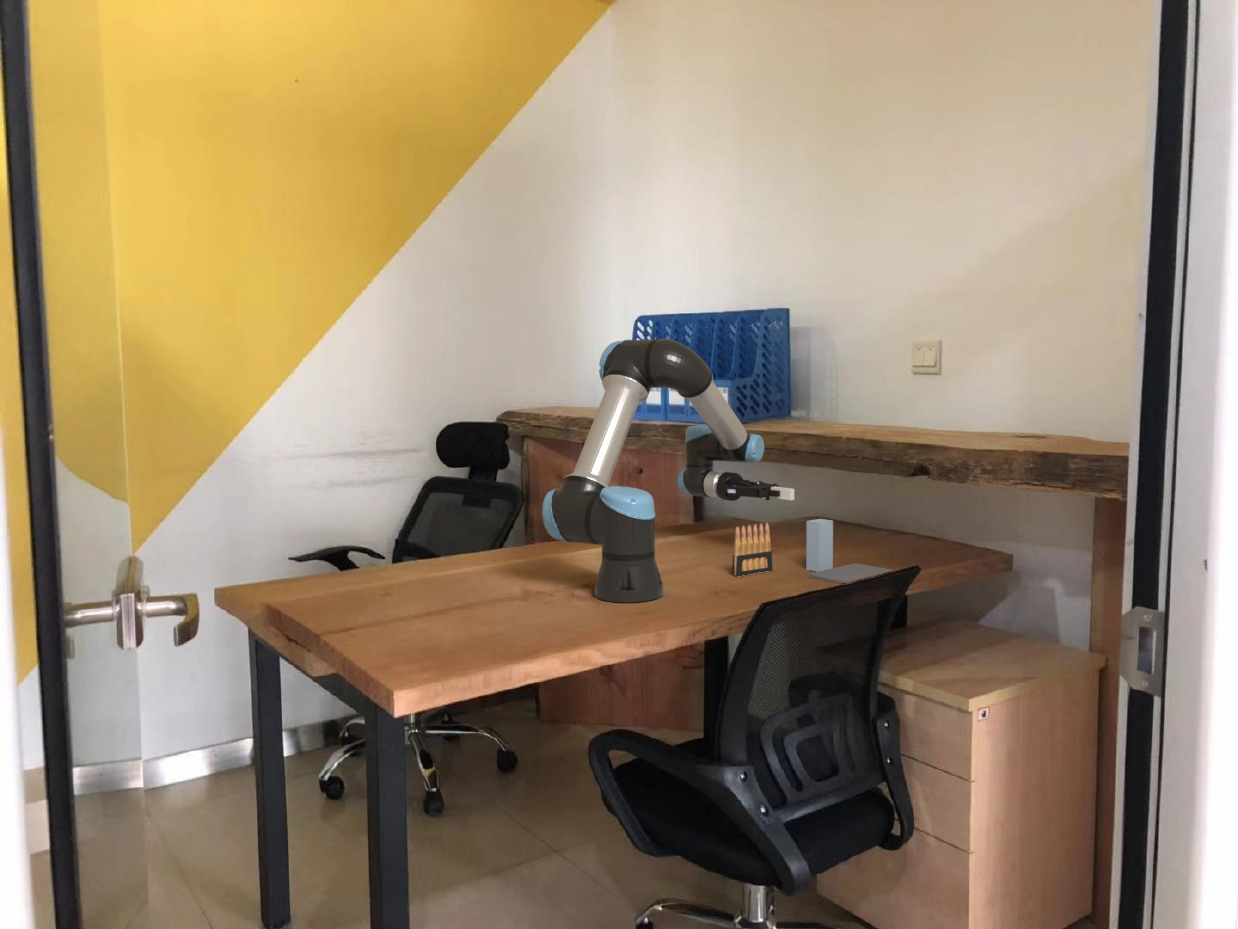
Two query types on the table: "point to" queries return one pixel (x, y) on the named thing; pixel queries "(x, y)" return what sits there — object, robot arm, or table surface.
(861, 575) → the mat
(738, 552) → the ammunition clip
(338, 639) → the table surface
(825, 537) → the block
